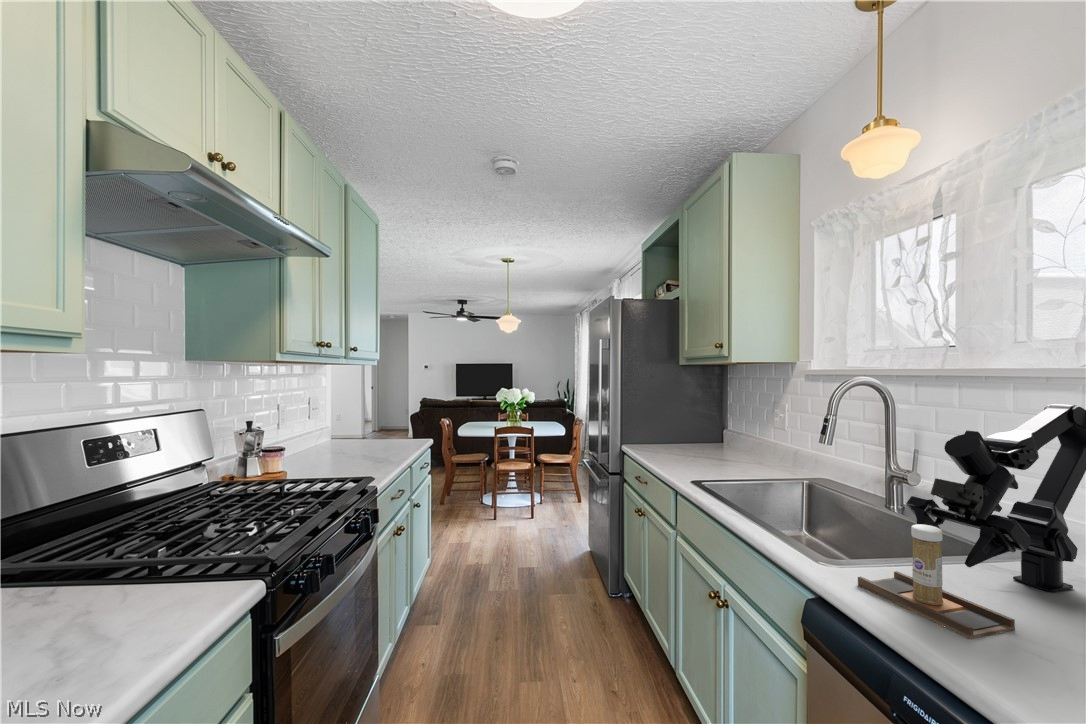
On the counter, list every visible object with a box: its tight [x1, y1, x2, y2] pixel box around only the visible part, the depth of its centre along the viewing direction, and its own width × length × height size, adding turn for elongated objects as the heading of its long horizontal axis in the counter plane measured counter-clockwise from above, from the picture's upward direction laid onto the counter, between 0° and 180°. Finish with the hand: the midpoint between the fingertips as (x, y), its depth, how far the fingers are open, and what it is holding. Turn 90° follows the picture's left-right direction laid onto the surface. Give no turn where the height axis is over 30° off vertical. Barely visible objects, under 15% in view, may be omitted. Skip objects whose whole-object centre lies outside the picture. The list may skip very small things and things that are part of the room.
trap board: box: [857, 570, 1016, 640], centre depth 93 cm, size 10×21×2 cm, turn 15°
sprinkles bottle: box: [910, 523, 943, 605], centre depth 93 cm, size 5×5×14 cm
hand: (940, 556), depth 94 cm, fingers open, 9 cm apart
